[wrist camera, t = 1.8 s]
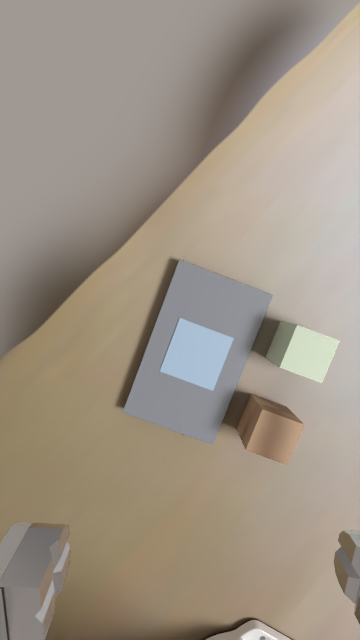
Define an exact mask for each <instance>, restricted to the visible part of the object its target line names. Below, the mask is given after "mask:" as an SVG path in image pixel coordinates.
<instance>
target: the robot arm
mask: <svg viewBox="0 0 360 640" xmlns="http://www.w3.org/2000/svg"><path fill="white" fill-rule="evenodd" d="M69 535H70V531H69V525H64V524H46V523H24V522H16V523H15V524H14V525H13V526H12V527H11V528H10V529H9V530H8V532H7V534H6V535H5V537H4V538H3V540H2V542H1V543H0V640H45V638H46V635H47V632H48V630H49V627H50V624H51V621H52V618H53V615H54V612H55V609H56V608H55V596H56V595H57V594H58V593H59V592H60V591H61V590H62V589H63V586H64V583H65V580H66V577H67V572H68V568H69V563H70V554H71V550H70V545H69V544H68V543H67V540H68V537H69ZM338 541H339V543H340V545H341V546H342V547H340V548H339V549H338V550H337V551H336V552H335V558H334V566H335V572H336V576H337V579H338V581H339V584H340V586H341V588H342V590H343V592H344V594H345V595H346V596H347V597H348V598H349V599H350V600H351V601H352V602H353V603H355V613H354V614H355V616H356V618H357V620H358V622H359V624H360V531H342V532H341V533H340V534H339V539H338ZM206 640H291V639H289V638H288V637H286V636H284V635H282V634H281V633H279V632H277V631H275V630H274V629H272V628H270V627H268V626H267V625H265V624H263V623H261V622H260V621H257V620H251V621H248V622H246V623H245V624H243V625H242V626H240V627H239V628H237V629H236V630H233V631H230V632H225V633H221V634H217V635H214V636H212V637H210V638H208V639H206Z"/></svg>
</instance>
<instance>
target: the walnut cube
mask: <svg viewBox="0 0 360 640" xmlns="http://www.w3.org/2000/svg"><path fill="white" fill-rule="evenodd" d="M303 427H304V424H303V423H302V422H301V421H300V420H299V419H298V418H297V417H296V416H295V415H294V414H293V413H292V412H291V411H290V410H289V409H288V408H287V407H285V406H283V405H280V404H277V403H275V402H272V401H269V400H267V399H264V398H261V397H258V396H256V395H253V394H251V395H250V397H249V400H248V402H247V405H246V407H245V410H244V412H243V414H242V417H241V419H240V422H239V424H238V427H237V431H238V433H239V436H240V438H241V440H242V443H243V445H244V447H245V449H246V450H247V451H250V452H253V453H256V454H258V455H261V456H264V457H267V458H269V459H272V460H275V461H278V462H280V463H283V464H286V465H287V464H288V462H289V459H290V457H291V455H292V452H293V450H294V448H295V445H296V443H297V441H298V438H299V436H300V434H301V431H302V429H303Z"/></svg>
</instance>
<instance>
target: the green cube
mask: <svg viewBox="0 0 360 640" xmlns="http://www.w3.org/2000/svg"><path fill="white" fill-rule="evenodd" d="M339 342H340V341H339V340H336V339H333V338H331V337H328V336H326V335H323V334H320V333H318V332H315V331H312V330H310V329H307V328H304V327H302V326H299V325H296V324H292V323H287V322H283V321H280V323H279V326H278V328H277V331H276V333H275V336H274V338H273V341H272V343H271V346H270V348H269V351H268V353H267V355H266V358H267V359H268V360H270V361H271V362H272V363H274V364H275V365H277V366H278V367H280V368H282V369H285V370H288V371H290V372H293V373H296V374H298V375H301V376H304V377H306V378H309V379H312V380H314V381H317V382H320V383H322V382H323V380H324V377H325V375H326V373H327V370H328V368H329V366H330V363H331V361H332V359H333V356H334V354H335V352H336V349H337V347H338V345H339Z"/></svg>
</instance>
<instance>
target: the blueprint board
mask: <svg viewBox="0 0 360 640" xmlns="http://www.w3.org/2000/svg"><path fill="white" fill-rule="evenodd" d="M272 296H273V295H271V294H269V293H266V292H264V291H261V290H258V289H256V288H253V287H250V286H248V285H245V284H243V283H240V282H237V281H235V280H232V279H229V278H227V277H224V276H222V275H219V274H216V273H214V272H211V271H209V270H206V269H203V268H201V267H198V266H195V265H193V264H190V263H188V262H185V261H182V260H180V259H179V262H178V265H177V267H176V270H175V273H174V275H173V278H172V281H171V283H170V286H169V289H168V292H167V294H166V297H165V300H164V302H163V305H162V308H161V310H160V313H159V316H158V319H157V321H156V324H155V327H154V329H153V332H152V335H151V337H150V340H149V343H148V345H147V348H146V351H145V354H144V356H143V359H142V362H141V364H140V367H139V370H138V372H137V375H136V378H135V380H134V383H133V386H132V389H131V391H130V394H129V397H128V399H127V402H126V405H125V407H124V410H123V412H124V413H126V414H129V415H132V416H135V417H137V418H140V419H143V420H146V421H148V422H151V423H154V424H157V425H159V426H162V427H165V428H168V429H170V430H173V431H176V432H179V433H181V434H184V435H187V436H190V437H192V438H195V439H198V440H201V441H203V442H206V443H209V444H212V445H213V443H214V441H215V438H216V436H217V433H218V431H219V428H220V426H221V423H222V421H223V418H224V416H225V413H226V411H227V408H228V406H229V403H230V401H231V398H232V396H233V393H234V391H235V388H236V386H237V383H238V381H239V378H240V376H241V373H242V371H243V368H244V366H245V363H246V361H247V359H248V356H249V354H250V351H251V349H252V346H253V344H254V341H255V339H256V336H257V334H258V331H259V329H260V326H261V324H262V321H263V319H264V316H265V314H266V311H267V309H268V306H269V304H270V301H271V299H272Z"/></svg>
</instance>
